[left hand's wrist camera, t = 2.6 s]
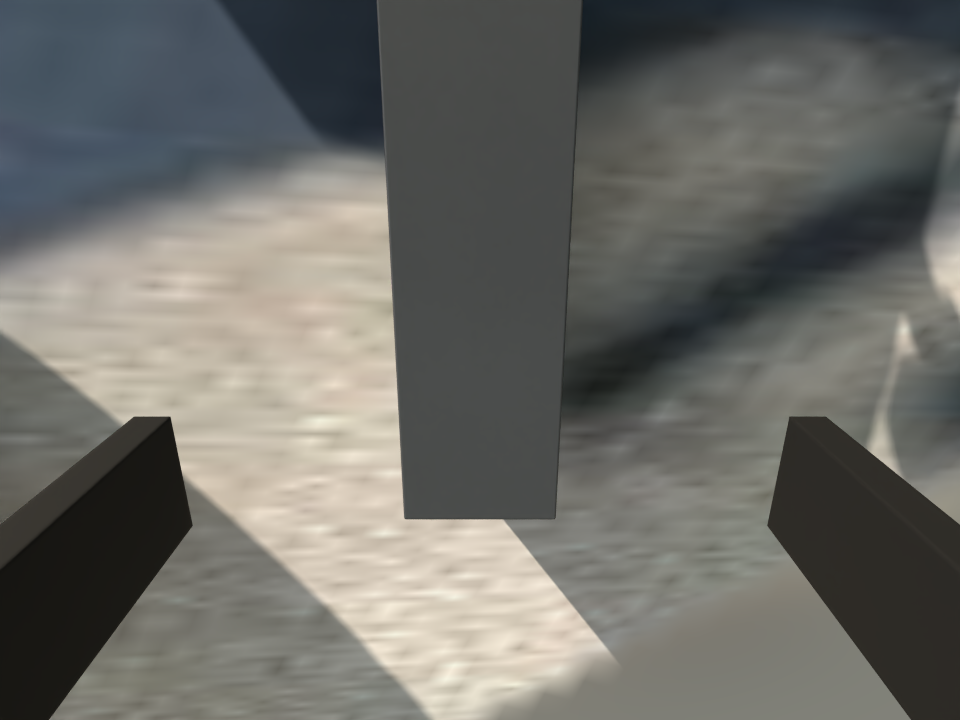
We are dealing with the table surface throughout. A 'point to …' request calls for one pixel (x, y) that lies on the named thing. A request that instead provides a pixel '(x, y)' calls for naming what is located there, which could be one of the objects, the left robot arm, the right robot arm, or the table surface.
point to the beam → (479, 246)
